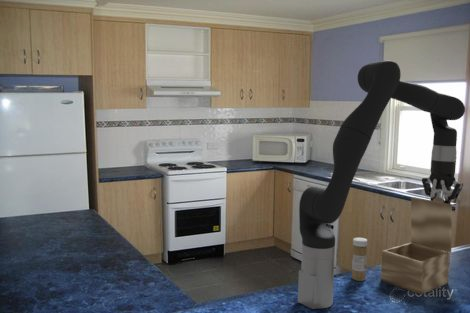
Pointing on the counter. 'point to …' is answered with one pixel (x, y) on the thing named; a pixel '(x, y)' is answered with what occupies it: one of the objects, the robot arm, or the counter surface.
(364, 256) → the sprinkles bottle
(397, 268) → the wooden box
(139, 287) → the counter surface
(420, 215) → the wooden box lid
